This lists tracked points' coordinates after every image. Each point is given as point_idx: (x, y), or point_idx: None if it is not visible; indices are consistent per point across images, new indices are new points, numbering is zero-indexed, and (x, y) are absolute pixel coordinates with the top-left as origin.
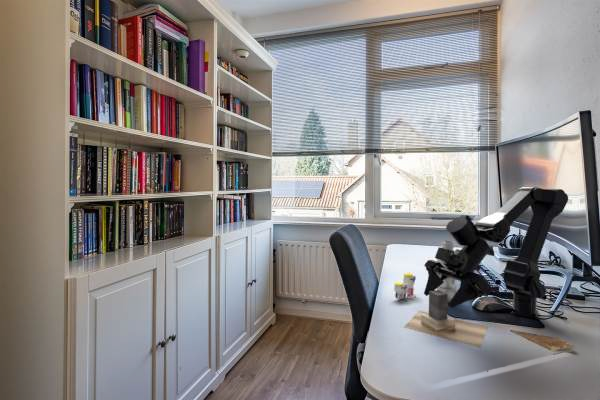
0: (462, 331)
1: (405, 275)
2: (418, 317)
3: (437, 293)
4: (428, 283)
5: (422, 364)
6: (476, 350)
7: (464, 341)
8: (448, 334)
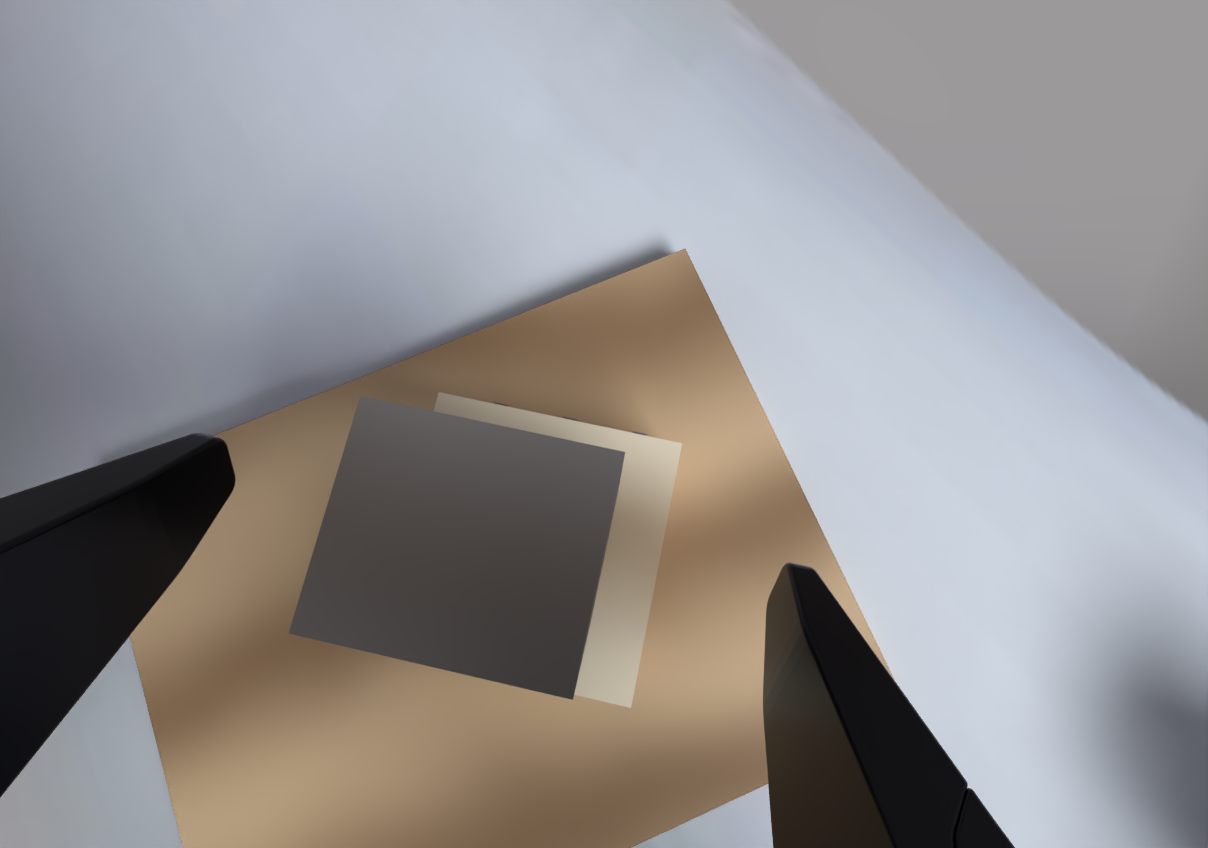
0: None
1: None
2: (775, 542)
3: (440, 482)
4: (895, 754)
5: (282, 9)
6: None
7: None
8: None
